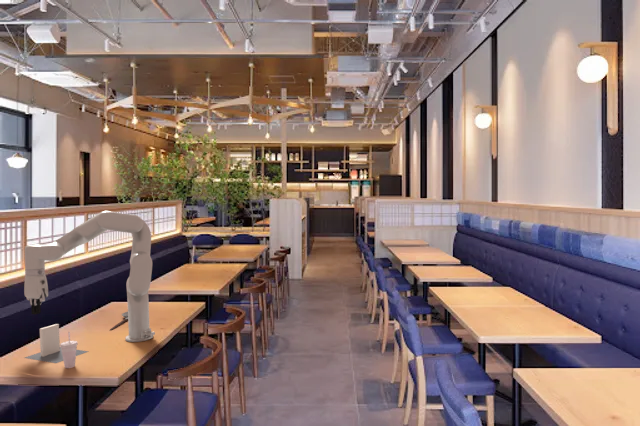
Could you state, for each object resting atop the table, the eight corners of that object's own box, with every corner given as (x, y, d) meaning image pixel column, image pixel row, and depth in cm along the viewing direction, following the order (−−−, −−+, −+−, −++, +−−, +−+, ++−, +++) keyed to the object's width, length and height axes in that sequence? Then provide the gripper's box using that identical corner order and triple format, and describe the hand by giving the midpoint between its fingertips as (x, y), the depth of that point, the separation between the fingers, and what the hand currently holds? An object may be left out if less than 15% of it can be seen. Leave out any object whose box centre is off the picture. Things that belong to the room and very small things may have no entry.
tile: (59, 350, 216) (58, 324, 215) (43, 356, 208) (42, 329, 208) (57, 350, 216) (56, 324, 216) (40, 356, 209) (39, 328, 209)
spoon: (145, 314, 282) (144, 309, 281) (120, 332, 249) (119, 327, 248) (127, 315, 282) (126, 310, 282) (100, 334, 249) (99, 329, 249)
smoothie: (81, 363, 199) (80, 330, 199) (74, 369, 193) (72, 334, 192) (65, 364, 199) (64, 330, 199) (57, 369, 193) (56, 335, 192)
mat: (88, 352, 214) (88, 351, 214) (56, 364, 199) (56, 363, 199) (57, 347, 222) (57, 346, 222) (23, 358, 207) (23, 357, 207)
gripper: (54, 272, 214) (55, 313, 215) (31, 270, 220) (32, 310, 221) (38, 274, 207) (39, 317, 208) (15, 272, 214) (16, 314, 214)
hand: (36, 313), depth 214 cm, fingers closed
